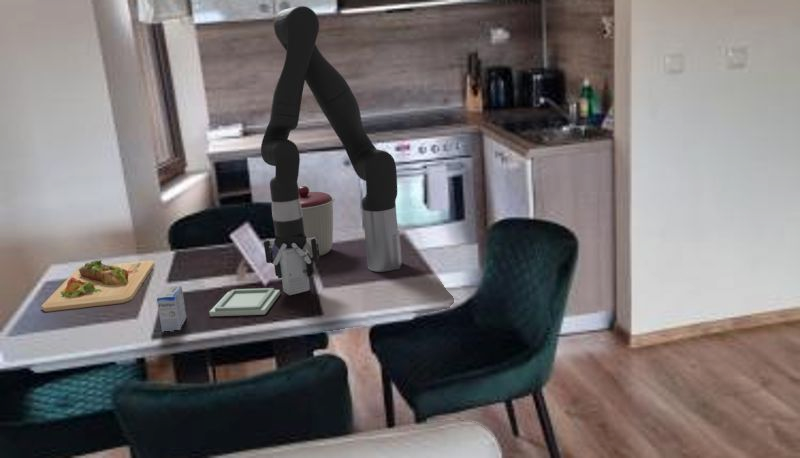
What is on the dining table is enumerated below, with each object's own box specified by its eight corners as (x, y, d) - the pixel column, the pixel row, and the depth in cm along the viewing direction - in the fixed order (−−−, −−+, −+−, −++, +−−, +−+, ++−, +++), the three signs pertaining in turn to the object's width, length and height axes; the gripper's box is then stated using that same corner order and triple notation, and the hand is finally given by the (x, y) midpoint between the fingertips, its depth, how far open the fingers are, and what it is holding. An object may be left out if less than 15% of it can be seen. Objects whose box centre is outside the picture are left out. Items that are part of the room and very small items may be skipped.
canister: (273, 264, 225) (264, 194, 219) (290, 246, 242) (282, 181, 236) (333, 261, 222) (325, 191, 216) (345, 243, 239) (338, 178, 234)
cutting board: (130, 304, 202) (125, 277, 200) (39, 314, 200) (33, 287, 198) (156, 264, 236) (152, 241, 234) (78, 273, 234) (74, 250, 232)
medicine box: (168, 320, 187) (163, 287, 185) (187, 318, 187) (181, 285, 185) (162, 332, 179) (155, 298, 177) (181, 330, 179) (175, 296, 177)
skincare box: (290, 296, 196) (284, 251, 193) (282, 291, 200) (277, 247, 197) (311, 290, 200) (306, 246, 196) (303, 286, 203) (298, 242, 200)
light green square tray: (280, 294, 198) (279, 287, 198) (265, 314, 185) (264, 307, 185) (228, 296, 200) (227, 289, 200) (210, 316, 187) (208, 309, 186)
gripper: (318, 211, 197) (325, 271, 201) (264, 213, 199) (272, 273, 203) (311, 218, 190) (318, 280, 194) (256, 221, 192) (264, 282, 196)
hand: (295, 276), depth 199 cm, fingers open, 7 cm apart
